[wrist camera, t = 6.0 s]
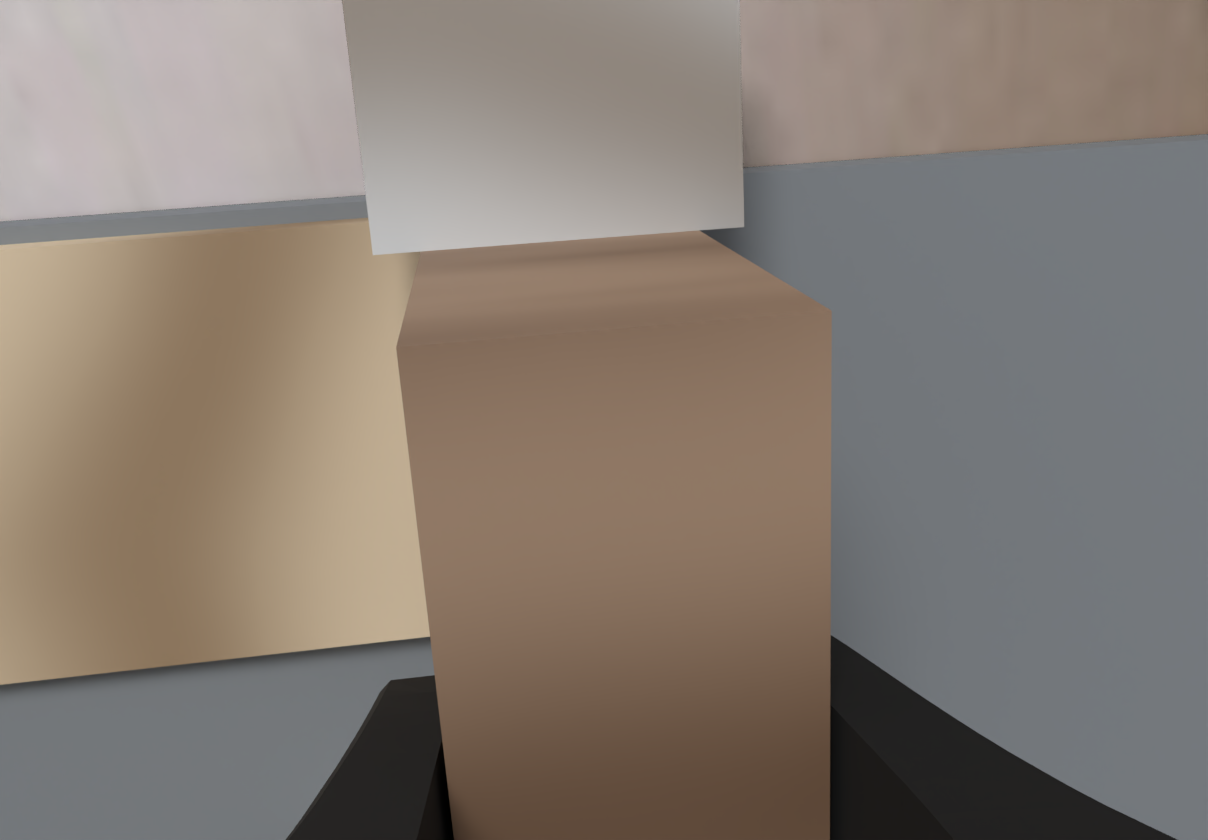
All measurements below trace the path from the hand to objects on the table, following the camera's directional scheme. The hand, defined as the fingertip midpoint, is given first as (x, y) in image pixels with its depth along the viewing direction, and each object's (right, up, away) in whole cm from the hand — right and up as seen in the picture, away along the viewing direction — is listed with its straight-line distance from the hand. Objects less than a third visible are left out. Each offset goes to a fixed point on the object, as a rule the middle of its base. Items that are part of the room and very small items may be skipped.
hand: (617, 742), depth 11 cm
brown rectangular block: (0, +2, +2) cm, 3 cm away
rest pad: (-5, +3, +3) cm, 7 cm away
